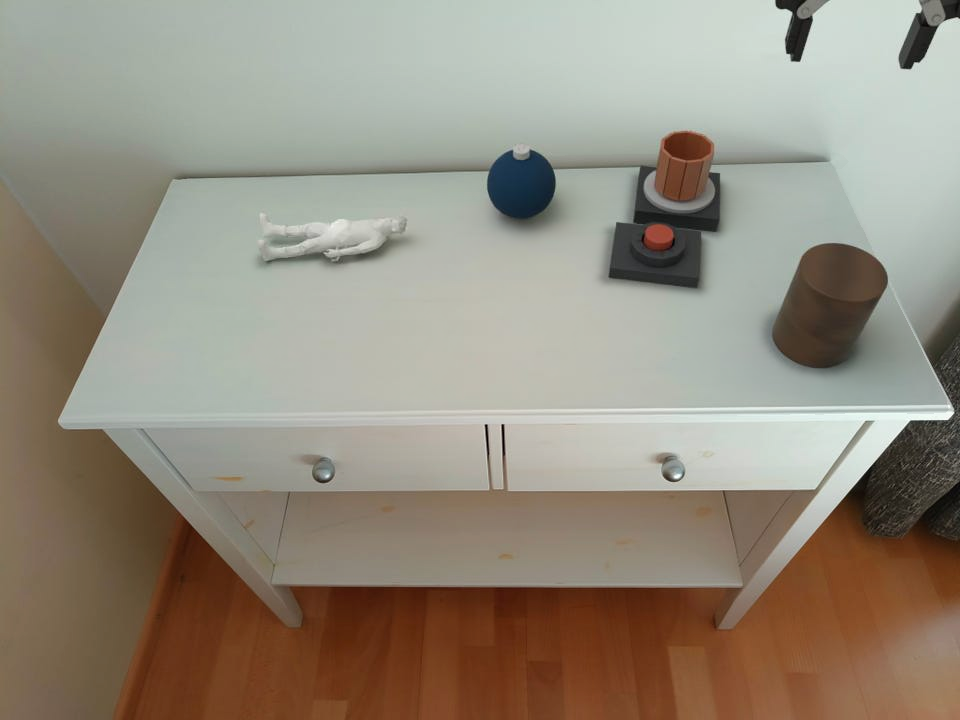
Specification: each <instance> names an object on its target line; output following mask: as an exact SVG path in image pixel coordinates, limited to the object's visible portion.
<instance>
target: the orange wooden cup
mask: <svg viewBox="0 0 960 720" xmlns="http://www.w3.org/2000/svg"><path fill="white" fill-rule="evenodd" d="M714 155H715V142H713V141H712V140H711V139H710V138H709V137H707V135H705V134H703V133H699V132H696V131H692V130H679V131H673V132H670V133H668V134H667V135H665V136H664V137H662V138H661V139H660V145H659V151H658V156H657V162H656V166H655V167H656V173H655V179H654V187H655V188H656V189H657V190H658V192H659V193H660V194H661V195H663V196H664V197H666V198H668V199H671V200H675V201H688V200H692V199H694V198H697V197H698V196H699V195H701V194H702V193H704V191H705V188H706V184H707V180H708V176H709V172H711V168H712V163H713V159H714Z"/></svg>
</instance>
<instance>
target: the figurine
mask: <svg viewBox="0 0 960 720" xmlns="http://www.w3.org/2000/svg"><path fill="white" fill-rule="evenodd" d="M408 221H409V219H408V217H406V216H403V215H401V214H400V215H397V217H395V218H391V217H386V218H380V219H379V218H372V219H359V220H353V221H351V220H350V219H344V218H338V219H336V220H335V221H332V223H328V222H324V221H312V222H308V223H306V224H299V225H287V224H281V225H279V224H274V223H273V222H270V219H269V216H268V214H267V213H263V212H261V213H259V222H260V226H261V228H262V229H263V230H262V236H263V238H264V239H267V240H268V239H270V238H274V237H280V238H281V237H282V238H288V237H292V238H307V239H305V240H304V241H302V242H300V243H298V244H296V245H292V246H283V247H272V246H269V245H267V241H266V240H264V239H257V240H258V241H257V249H258V251H259V252H260V254H261V255H262V258H263V260H264V261H265V262H270V261H273V260H276V259H282V258H283V259H289V258H292V257H300V256H302V255H313V254H314V255H316V254H321V253H323V254H324V256H325V257H328V258H330V261H331V262H332V263H333V262H338V261H339V259H341V256H350V255H358V254H359V255H360V254H366V253H369V252H372V251H375V250H378V249H379V248H380V247H381V246H382V245H383V244H384V243H385V242H386V240H387V239H388V236H390V235H393V234H400V235H403V234H404V232H406V227H407V225H408V223H407V222H408Z"/></svg>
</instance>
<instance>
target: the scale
mask: <svg viewBox="0 0 960 720" xmlns="http://www.w3.org/2000/svg"><path fill="white" fill-rule="evenodd" d="M656 167H657V166H650V165H649V166H647V165H640V167H639V171H638V172H639V173H638V179H637V186H636V187H637V188H636V194H635V204H634V210H633V219H632V224H640V225H643V224H647V223H651V222H658V223H667V224H669V225H671V226H673V227H675V228H677V229H687V230H696V231H706V232H707V231H708V232H717V229H718V226H719V222H720V215H721V213H720V212H721V211H720V210H721V207H720V206H721V173H720V172H714V171H713V172H712V171H710V172H709V176H708V180H707V184H706V188H705V191H704V193H702V194H701V195H699V196H698V197H697V198H694V199H692V200H688V201H675V200H671V199H668V198H666V197H664V196H663V195H661V194H660V193H659V192H658V190H657V189H656V188H655V187H654V179H655V173H656Z"/></svg>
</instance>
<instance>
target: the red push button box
mask: <svg viewBox="0 0 960 720" xmlns="http://www.w3.org/2000/svg"><path fill="white" fill-rule="evenodd" d="M656 224H660V225H665V226H667V227H669V228H670V229H671V230H672V231H673V233H674V237H673V242H672V246H671V247H670V248H669V249H668V250H665V251H653V250H651V249H649V248H647V247H646V245H645V244H644V237H645V231H646V229H647V228H648V227H650V226H652V225H656ZM701 248H702V230H697V229H687V228H678V227H673V226H671V225H669V224H667V223H658V222H651V223H647V224H641V223H629V222H621V221H616V222H615V229H614V235H613V243H612V250H611V257H610V263H609V271H608V278H609V279H618V280H626V281H633V282H635V281H636V282H643V283H651V284H652V283H653V284H659V285H668V286H675V287H676V286H678V287H686V288H693V289H698V287H699V282H700V278H701V254H702V249H701Z"/></svg>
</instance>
